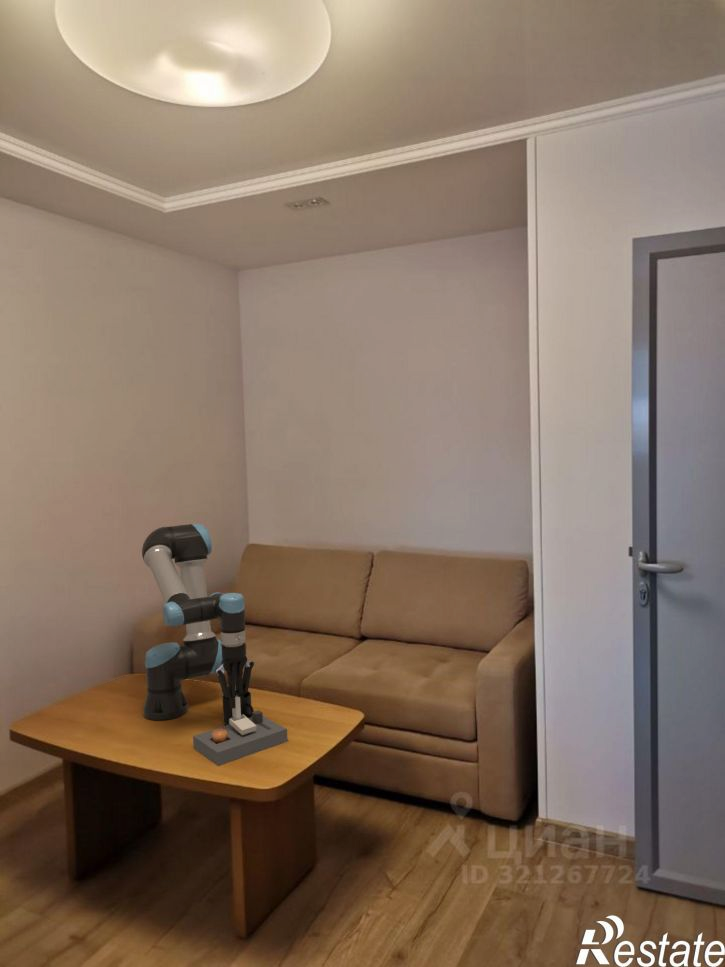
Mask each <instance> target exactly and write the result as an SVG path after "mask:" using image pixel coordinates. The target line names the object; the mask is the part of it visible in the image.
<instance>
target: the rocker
mask: <svg viewBox="0 0 725 967" xmlns="http://www.w3.org/2000/svg"><path fill="white" fill-rule="evenodd" d="M229 724H230V725H231V726H233V727H234V728H235V729H236V730H237V731H238V732H239V733H240V734H241V735H244V734H247V733H250V732H253V731H256V725H255V724H254V723H253V722H252V721H250V720H249V719H248V718H247V717H246V716H245V715H244V714H243V715H241V718H238V719H236V718H235V717H234V718H230V719H229Z"/></svg>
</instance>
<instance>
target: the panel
mask: <svg viewBox="0 0 725 967" xmlns="http://www.w3.org/2000/svg"><path fill="white" fill-rule="evenodd" d="M248 719H249V720H250V721H252V717H251V718H248ZM252 722H253V721H252ZM253 723H254V722H253ZM254 724H255V725H256V731H253V732H250V733H247V734H244V735H241V734H240V733H239V732H238V731H237V730H236V729H235V728H234V727H233V726H231V725H230V724H229V725H226V724H225V725H223V726H219V727H216V728H213V729H210V730H207V731H204V732H201V733H197V734H195V735H192V741H193V749H194V750H195V751H197V752H198V753H200V754H201V755H203V757H205V758H206V759H208V760H209V761H210V762H212V763H214V764H215V765H216V766H218V767H219V766H222V765H225V764H228V763H230V762H234V761H236V760H239V759H242V758H244V757H248V756H251V755H253V754H255V753H259V752H262V751H266V750H268V749H270V748H273V747H276V746H278V745H281V744H285V743H287V742H288V729H287V727H284V726H283V725H280V724H279V723H276V721H273V720H272V719H270V718H267V717H265V716H264V715H263V722H260V723H254ZM218 729H225V730H227V740H226V741H224V742H221V743H218V744H216V743H215V742H213V738H212V732H213V731H215V730H218Z"/></svg>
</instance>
